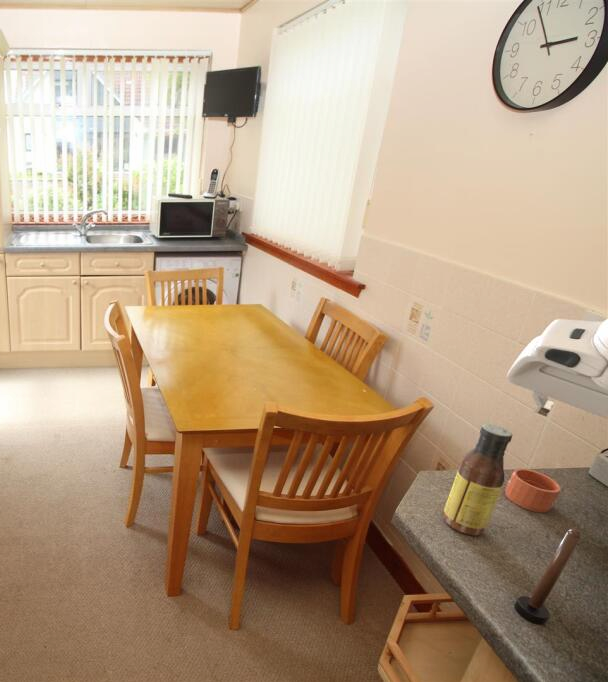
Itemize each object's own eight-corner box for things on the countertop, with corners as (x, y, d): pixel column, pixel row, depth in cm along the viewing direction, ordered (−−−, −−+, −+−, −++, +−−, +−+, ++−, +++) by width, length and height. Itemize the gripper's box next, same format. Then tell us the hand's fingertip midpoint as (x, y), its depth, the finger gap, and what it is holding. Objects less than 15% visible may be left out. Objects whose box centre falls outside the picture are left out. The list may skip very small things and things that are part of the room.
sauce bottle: (490, 532, 84) (535, 438, 77) (468, 541, 82) (511, 445, 74) (453, 508, 90) (491, 417, 82) (431, 515, 88) (468, 423, 80)
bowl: (525, 488, 96) (535, 467, 94) (560, 512, 90) (571, 491, 88) (494, 489, 96) (504, 468, 94) (527, 514, 89) (538, 492, 87)
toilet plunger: (529, 601, 71) (574, 519, 65) (552, 624, 68) (602, 539, 62) (507, 603, 71) (551, 520, 65) (530, 625, 67) (578, 541, 61)
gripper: (780, 382, 51) (700, 454, 60) (540, 314, 64) (505, 381, 73) (768, 420, 48) (687, 488, 58) (522, 341, 62) (488, 407, 71)
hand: (584, 428), depth 66 cm, fingers open, 8 cm apart
